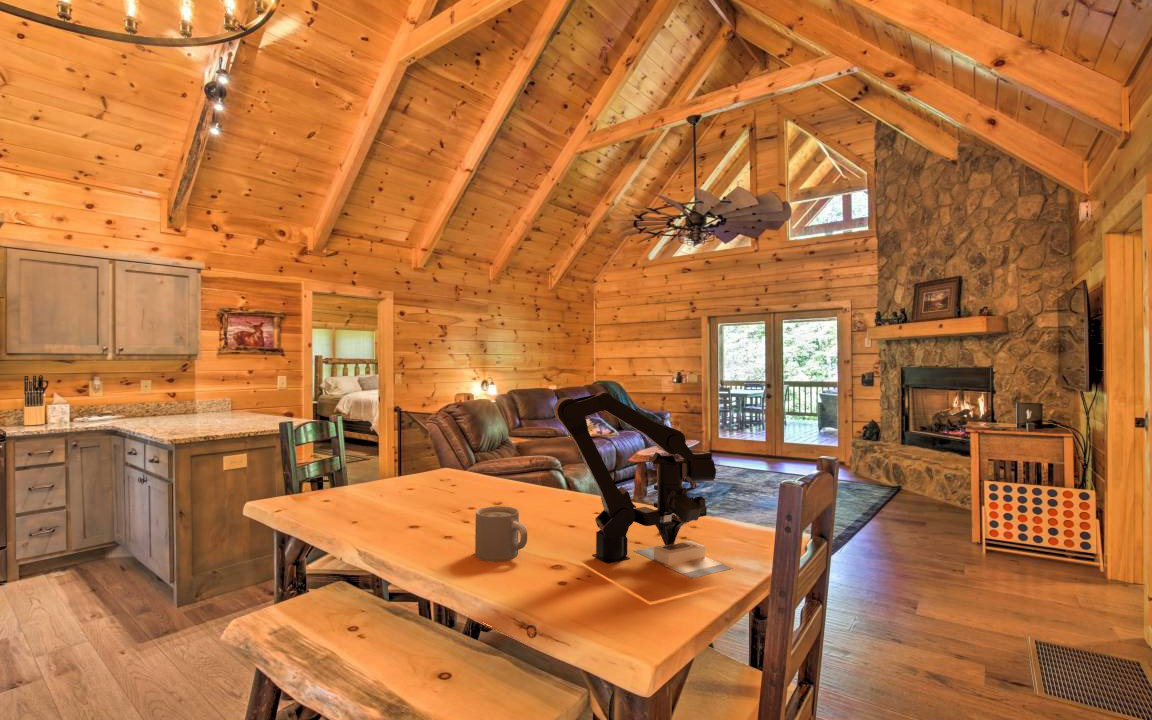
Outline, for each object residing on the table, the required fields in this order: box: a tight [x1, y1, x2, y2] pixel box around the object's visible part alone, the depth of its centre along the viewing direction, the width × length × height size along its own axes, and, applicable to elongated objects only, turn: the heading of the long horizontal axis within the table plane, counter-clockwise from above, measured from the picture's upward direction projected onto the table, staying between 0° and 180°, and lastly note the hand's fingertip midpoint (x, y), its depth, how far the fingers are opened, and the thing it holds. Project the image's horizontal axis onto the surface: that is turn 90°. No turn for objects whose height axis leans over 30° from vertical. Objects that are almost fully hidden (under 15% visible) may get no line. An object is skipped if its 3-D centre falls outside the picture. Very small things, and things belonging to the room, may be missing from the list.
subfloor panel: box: [633, 544, 733, 579], centre depth 128 cm, size 12×20×1 cm, turn 31°
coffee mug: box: [474, 505, 528, 563], centre depth 131 cm, size 13×10×10 cm
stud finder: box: [654, 540, 706, 566], centre depth 129 cm, size 11×5×3 cm, turn 122°
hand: (669, 549), depth 132 cm, fingers closed, pressing on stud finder
